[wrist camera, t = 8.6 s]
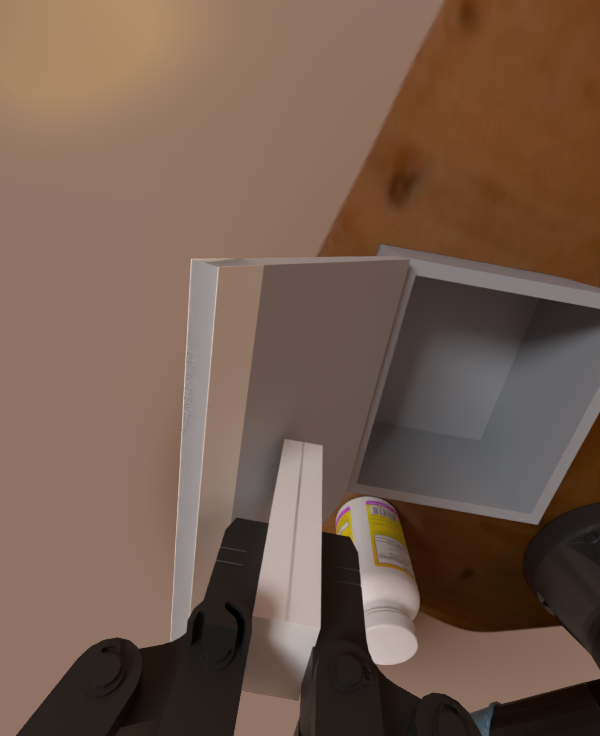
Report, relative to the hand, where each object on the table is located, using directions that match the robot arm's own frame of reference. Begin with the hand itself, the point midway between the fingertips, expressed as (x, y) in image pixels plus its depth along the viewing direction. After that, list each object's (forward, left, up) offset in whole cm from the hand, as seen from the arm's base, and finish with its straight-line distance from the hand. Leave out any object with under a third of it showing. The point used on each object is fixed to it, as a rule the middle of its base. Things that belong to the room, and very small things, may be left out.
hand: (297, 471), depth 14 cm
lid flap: (0, -1, -3) cm, 3 cm away
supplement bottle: (-20, -10, -20) cm, 29 cm away
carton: (0, -11, -20) cm, 22 cm away
